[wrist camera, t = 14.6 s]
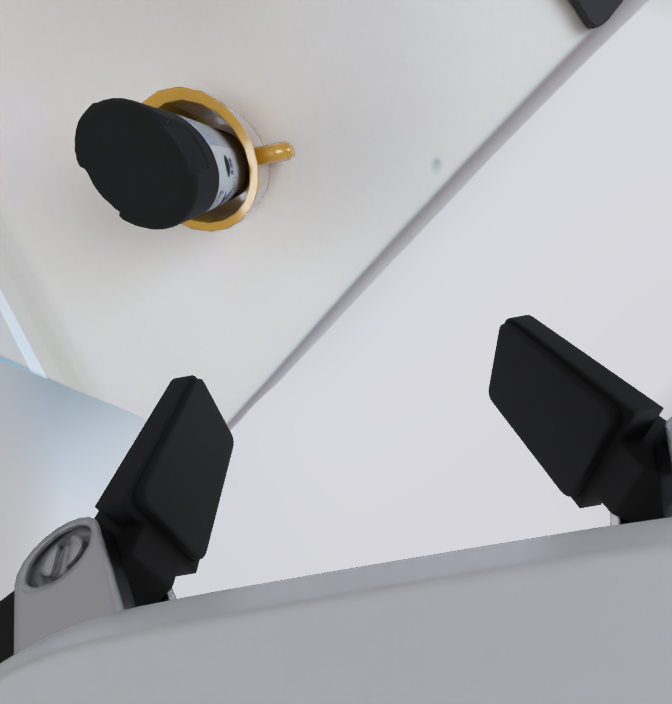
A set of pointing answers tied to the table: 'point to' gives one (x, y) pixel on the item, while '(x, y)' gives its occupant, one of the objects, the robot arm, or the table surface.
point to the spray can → (158, 162)
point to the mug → (229, 121)
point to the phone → (595, 10)
